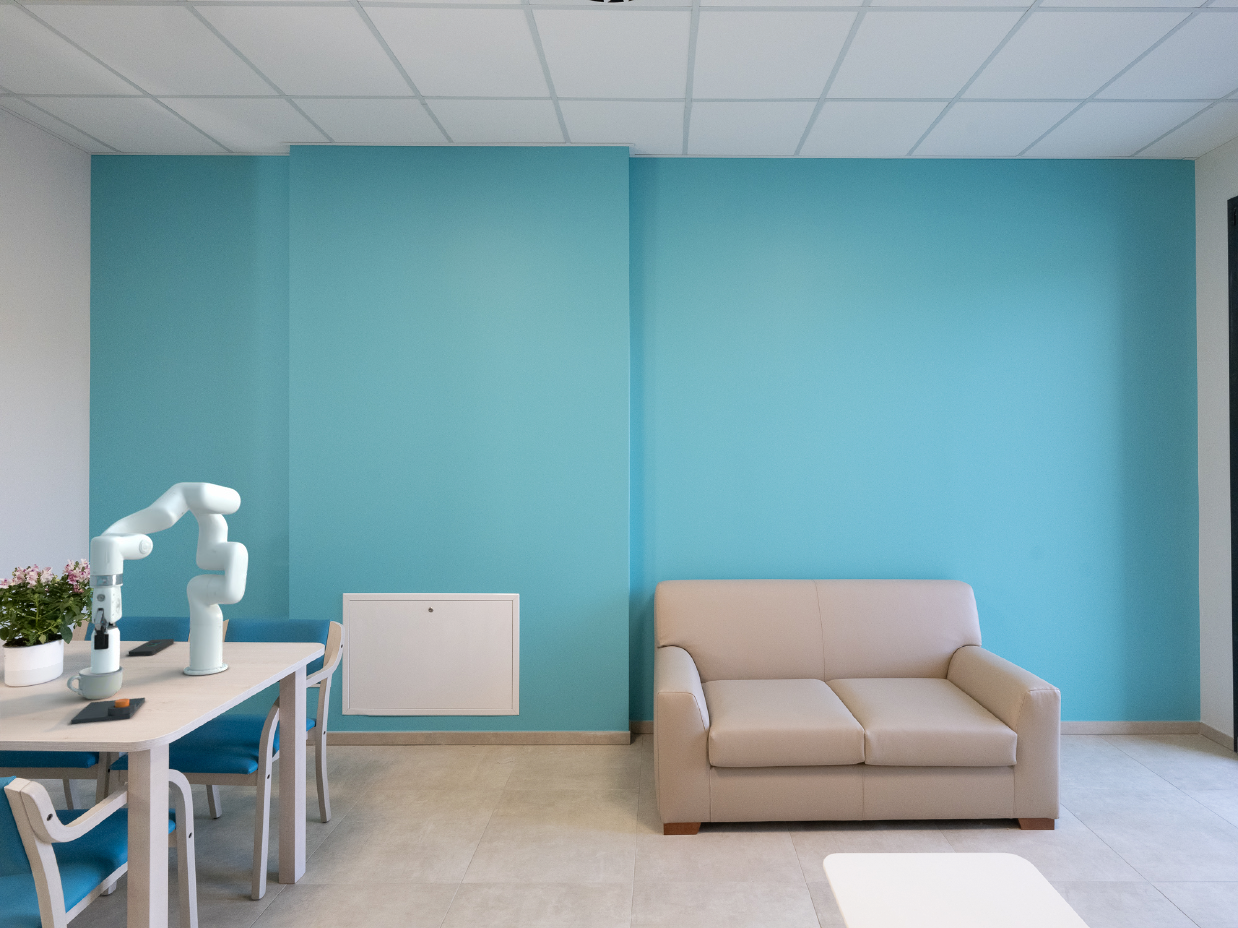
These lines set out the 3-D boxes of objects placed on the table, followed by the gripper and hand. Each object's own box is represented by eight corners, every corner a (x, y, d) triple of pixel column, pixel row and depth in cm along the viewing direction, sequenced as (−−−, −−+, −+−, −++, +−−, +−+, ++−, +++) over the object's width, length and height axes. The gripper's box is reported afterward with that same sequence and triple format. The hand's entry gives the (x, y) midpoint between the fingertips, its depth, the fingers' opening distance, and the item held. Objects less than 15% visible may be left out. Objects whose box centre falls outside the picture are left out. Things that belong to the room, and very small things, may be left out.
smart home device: (175, 638, 285) (152, 650, 266) (175, 642, 285) (152, 655, 266) (151, 639, 284) (127, 651, 264) (151, 643, 284) (127, 656, 264)
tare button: (116, 705, 200) (116, 698, 200) (130, 704, 201) (130, 697, 201) (113, 709, 197) (113, 702, 197) (127, 707, 198) (127, 701, 198)
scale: (90, 706, 207) (90, 695, 207) (147, 701, 212) (147, 690, 212) (71, 724, 192) (71, 712, 192) (132, 718, 197) (132, 707, 197)
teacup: (115, 689, 224) (116, 662, 224) (128, 695, 217) (129, 668, 217) (59, 699, 213) (60, 671, 213) (71, 707, 206) (71, 678, 206)
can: (84, 673, 202) (85, 629, 202) (107, 667, 208) (108, 624, 208) (102, 675, 200) (103, 630, 200) (124, 669, 206) (125, 626, 207)
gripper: (113, 584, 198) (112, 652, 198) (130, 576, 214) (129, 638, 214) (79, 585, 195) (78, 654, 195) (99, 577, 211) (98, 640, 211)
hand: (105, 645), depth 204 cm, fingers closed on can, 6 cm apart
